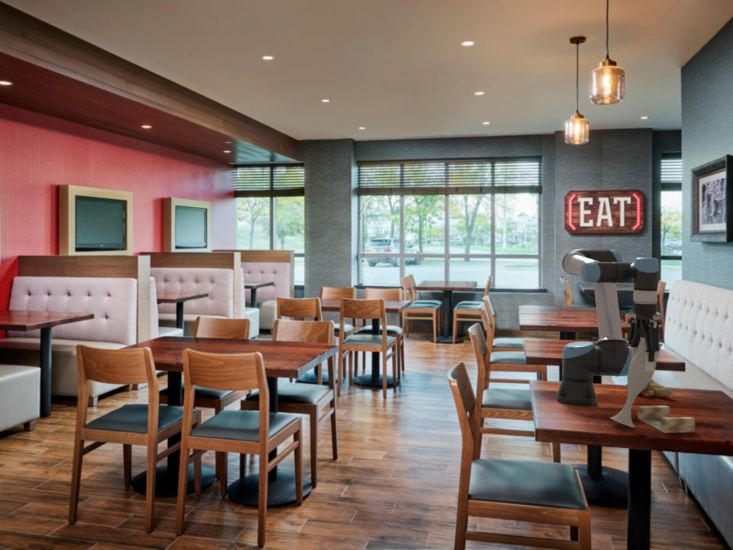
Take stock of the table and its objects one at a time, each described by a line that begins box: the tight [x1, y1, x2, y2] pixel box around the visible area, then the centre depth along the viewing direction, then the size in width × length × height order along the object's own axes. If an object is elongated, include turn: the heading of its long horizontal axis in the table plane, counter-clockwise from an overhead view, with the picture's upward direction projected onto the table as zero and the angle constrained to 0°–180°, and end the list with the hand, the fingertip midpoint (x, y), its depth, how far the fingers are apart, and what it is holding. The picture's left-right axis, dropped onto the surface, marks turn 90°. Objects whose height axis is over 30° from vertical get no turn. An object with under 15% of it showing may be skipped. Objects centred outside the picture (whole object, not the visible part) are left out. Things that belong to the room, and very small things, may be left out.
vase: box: [609, 336, 664, 429], centre depth 210 cm, size 9×8×30 cm
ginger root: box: [624, 377, 674, 398], centre depth 255 cm, size 16×16×8 cm
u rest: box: [637, 405, 696, 434], centre depth 212 cm, size 11×16×5 cm
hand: (642, 368), depth 210 cm, fingers closed on vase, 8 cm apart
